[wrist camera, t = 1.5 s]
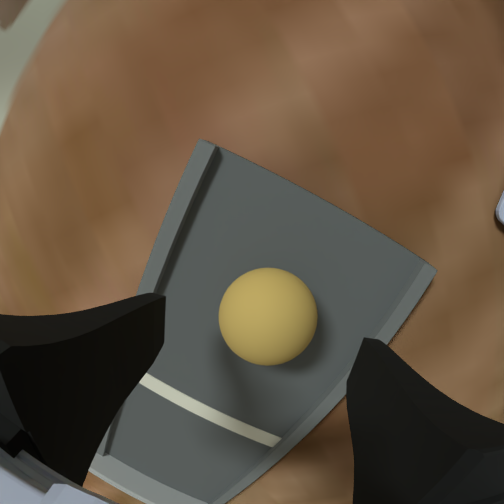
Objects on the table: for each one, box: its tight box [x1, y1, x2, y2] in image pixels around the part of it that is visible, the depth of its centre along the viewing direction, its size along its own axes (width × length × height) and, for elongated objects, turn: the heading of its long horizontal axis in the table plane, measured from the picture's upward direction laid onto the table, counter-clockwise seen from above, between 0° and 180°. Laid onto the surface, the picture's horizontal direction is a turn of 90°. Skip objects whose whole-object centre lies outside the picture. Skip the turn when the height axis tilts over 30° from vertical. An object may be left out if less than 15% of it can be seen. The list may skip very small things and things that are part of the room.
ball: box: [219, 268, 318, 366], centre depth 12 cm, size 4×4×4 cm
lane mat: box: [88, 139, 438, 504], centre depth 16 cm, size 12×28×3 cm, turn 154°
